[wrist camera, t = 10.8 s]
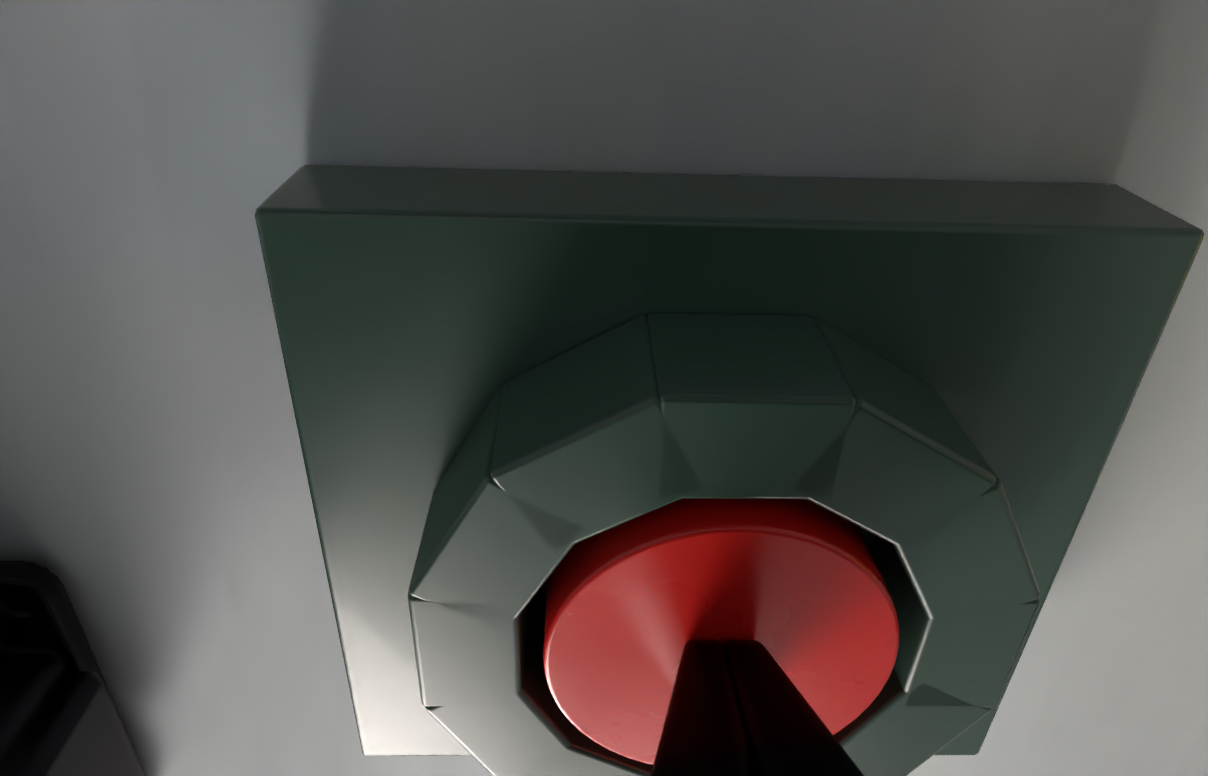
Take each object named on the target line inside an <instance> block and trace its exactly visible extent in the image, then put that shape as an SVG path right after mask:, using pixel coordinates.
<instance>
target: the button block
mask: <svg viewBox="0 0 1208 776" xmlns="http://www.w3.org/2000/svg"><path fill="white" fill-rule="evenodd" d="M255 218H256V223H257V228H258V233H259V238H260V243H261V248H262V253H263V258H264V263H265V268H266V273H267V278H268V283H269V288H270V293H271V298H272V303H273V308H274V313H275V318H276V323H277V328H278V333H279V338H280V343H281V348H282V353H283V358H284V363H285V368H286V373H287V378H288V383H289V388H290V393H291V398H292V403H293V408H294V413H295V418H296V423H297V428H298V433H299V438H300V443H301V448H302V453H303V458H304V463H305V468H306V473H307V478H308V483H309V488H310V493H311V498H312V503H313V508H314V513H315V518H316V523H317V528H318V533H319V538H320V543H321V548H322V553H323V558H324V563H325V568H326V573H327V578H328V583H329V588H330V593H331V598H332V602H333V607H334V612H335V617H336V622H337V627H338V632H339V637H340V642H341V647H342V652H343V657H344V662H345V667H346V672H347V677H348V682H349V687H350V692H351V697H352V702H353V707H354V712H355V717H356V722H357V727H358V732H359V737H360V742H361V747H362V752H363V754H364V755H366V756H473V757H474V758H475V759H476V760H477V761H478V762H479V763H480V764H481V765H482V766H483V767H484V768H485V769H486V770H488V771H489V772H490V773H491V774H492V775H493V776H651V772H652V768H653V765H652V764H647V763H643V762H640V761H637V760H633V759H630V758H627V757H624V756H622V755H620V754H617V753H615V752H613V751H610V750H608V749H607V748H605V747H603V746H601V745H599V744H598V743H596V742H594V741H593V740H591V739H590V738H589V737H587V736H586V735H584V734H583V733H582V732H580V731H579V730H578V729H577V728H576V727H575V726H574V725H573V724H572V723H571V722H570V721H569V720H568V719H567V718H566V716H565V715H564V714H563V712H562V711H561V710H560V708H559V707H558V705H557V704H556V702H555V700H554V698H553V696H552V694H551V692H550V690H549V687H548V684H547V680H546V677H545V673H544V664H543V649H544V630H545V611H546V592H547V579H548V578H549V576H550V575H551V574H552V572H553V571H554V570H555V569H556V567H557V566H558V565H559V563H560V562H561V561H562V560H563V558H564V557H565V556H566V555H567V553H568V552H569V551H570V549H571V548H572V547H573V546H574V544H576V543H578V542H580V541H583V540H585V539H588V538H590V537H592V536H595V535H597V534H599V533H602V532H604V531H606V530H609V529H611V528H613V527H616V526H618V525H620V524H623V523H625V522H628V521H630V520H632V519H635V518H637V517H639V516H642V515H644V514H646V513H649V512H651V511H653V510H656V509H658V508H660V507H663V506H665V505H668V504H670V503H672V502H675V501H677V500H679V499H682V498H713V499H807V500H809V501H810V502H812V503H814V504H816V505H818V506H820V507H822V508H824V509H826V510H828V511H830V512H832V513H834V514H836V515H838V516H840V517H842V518H843V519H845V520H847V521H849V522H851V523H853V524H855V525H857V526H859V527H861V530H862V532H863V534H864V536H865V539H866V541H867V543H868V546H869V548H870V550H871V552H872V555H873V557H874V559H875V561H876V564H877V566H878V568H879V570H880V573H881V575H882V577H883V579H884V582H885V584H886V586H887V588H888V591H889V593H890V595H891V598H892V600H893V603H894V606H895V608H896V611H897V616H898V622H899V648H898V652H897V657H896V661H895V665H894V667H893V669H892V672H891V674H890V677H889V679H888V680H887V682H886V684H885V685H884V687H883V689H882V690H881V692H880V693H879V695H878V696H877V697H876V698H875V700H874V701H873V702H872V703H871V704H870V706H869V707H868V708H867V709H866V710H865V711H864V712H862V713H861V714H860V715H859V716H858V717H857V718H856V719H855V720H854V721H852V722H851V723H850V724H848V725H847V726H846V727H844V728H843V729H842V730H840V731H839V732H837V733H836V734H834V735H833V736H834V737H835V738H836V740H837V741H838V742H839V743H840V745H841V746H842V747H843V749H844V750H845V751H846V753H847V754H848V755H849V756H850V758H851V759H852V760H853V762H854V763H855V764H856V765H857V767H858V768H859V769H860V771H861V772H862V773H863V775H864V776H907V775H908V774H909V773H910V772H912V771H913V770H914V769H916V768H917V767H918V766H920V765H921V764H922V763H924V762H925V761H926V760H927V759H929V758H930V757H931V756H933V755H975V754H977V753H979V750H980V748H981V746H982V744H983V741H984V739H985V737H986V734H987V732H988V730H989V728H990V725H991V723H992V721H993V718H994V716H995V714H996V711H997V709H998V707H999V705H1000V702H1001V700H1002V698H1003V695H1004V693H1005V691H1006V689H1007V686H1008V684H1009V682H1010V679H1011V677H1012V675H1013V673H1014V670H1015V668H1016V666H1017V663H1018V661H1019V659H1020V657H1021V654H1022V652H1023V650H1024V647H1025V645H1026V643H1027V641H1028V638H1029V636H1030V634H1031V631H1032V629H1033V627H1034V624H1035V622H1036V620H1037V618H1038V615H1039V613H1040V611H1041V608H1042V606H1043V604H1044V602H1045V599H1046V597H1047V595H1048V592H1049V590H1050V588H1051V586H1052V583H1053V581H1054V579H1055V576H1056V574H1057V572H1058V570H1059V567H1060V565H1061V563H1062V560H1063V558H1064V556H1065V554H1066V551H1067V549H1068V547H1069V544H1070V542H1071V540H1072V538H1073V535H1074V533H1075V531H1076V528H1077V526H1078V524H1079V521H1080V519H1081V517H1082V515H1083V512H1084V510H1085V508H1086V505H1087V503H1088V501H1089V499H1090V496H1091V494H1092V492H1093V489H1094V487H1095V485H1096V483H1097V480H1098V478H1099V476H1100V473H1101V471H1102V469H1103V467H1104V464H1105V462H1106V460H1107V457H1108V455H1109V453H1110V451H1111V448H1112V446H1113V444H1114V441H1115V439H1116V437H1117V435H1118V432H1119V430H1120V428H1121V425H1122V423H1123V421H1124V418H1125V416H1126V414H1127V412H1128V409H1129V407H1130V405H1131V402H1132V400H1133V398H1134V396H1135V393H1136V391H1137V389H1138V386H1139V384H1140V382H1141V380H1142V377H1143V375H1144V373H1145V370H1146V368H1147V366H1148V364H1149V361H1150V359H1151V357H1152V354H1153V352H1154V350H1155V348H1156V345H1157V343H1158V341H1159V338H1160V336H1161V334H1162V331H1163V329H1164V327H1165V325H1166V322H1167V320H1168V318H1169V315H1170V313H1171V311H1172V309H1173V306H1174V304H1175V302H1176V299H1177V297H1178V295H1179V293H1180V290H1181V288H1182V286H1183V283H1184V281H1185V279H1186V277H1187V274H1188V272H1189V270H1190V267H1191V265H1192V263H1193V261H1194V258H1195V256H1196V254H1197V251H1198V249H1199V247H1200V245H1201V242H1202V240H1203V236H1204V233H1203V231H1202V230H1201V229H1199V228H1197V227H1195V226H1193V225H1191V224H1190V223H1188V222H1186V221H1184V220H1182V219H1180V218H1178V217H1176V216H1174V215H1173V214H1171V213H1169V212H1167V211H1165V210H1163V209H1161V208H1159V207H1158V206H1156V205H1154V204H1152V203H1150V202H1148V201H1146V200H1144V199H1142V198H1141V197H1139V196H1137V195H1135V194H1133V193H1131V192H1129V191H1127V190H1125V189H1124V188H1122V187H1120V186H1118V185H1112V184H1070V183H1029V182H987V181H946V180H904V179H863V178H822V177H780V176H739V175H697V174H656V173H614V172H573V171H531V170H490V169H448V168H407V167H366V166H324V165H305V166H302V167H300V168H299V169H298V170H297V171H296V172H295V173H294V174H293V175H292V176H291V177H290V178H289V179H288V180H287V181H286V182H285V183H283V184H282V185H281V186H280V187H279V188H278V189H277V190H276V191H275V192H274V193H273V194H272V195H271V196H270V197H269V198H268V199H266V200H265V201H264V202H263V203H262V204H261V205H260V206H259V207H258V208H257V209H256V212H255Z"/></svg>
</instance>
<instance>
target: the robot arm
mask: <svg viewBox="0 0 1208 776" xmlns="http://www.w3.org/2000/svg"><path fill="white" fill-rule="evenodd" d="M0 776H146V774H145V771H144V769H143V767H142V765H141V762H140V760H139V758H138V755H137V753H136V751H135V748H134V746H133V744H132V742H131V739H130V737H129V735H128V732H127V730H126V728H125V725H124V723H123V721H122V719H121V716H120V714H119V712H118V709H117V707H116V705H115V702H114V700H113V698H112V696H111V693H110V691H109V689H108V686H107V684H106V682H105V679H104V677H103V675H102V673H101V670H100V668H99V666H98V663H97V661H96V659H95V656H94V654H93V652H92V650H91V647H90V645H89V643H88V640H87V638H86V636H85V633H84V631H83V629H82V626H81V624H80V622H79V620H78V617H77V615H76V613H75V610H74V608H73V606H72V603H71V601H70V599H69V597H68V594H67V592H66V590H65V587H64V585H63V584H62V582H61V581H60V579H59V578H58V577H57V576H56V575H55V574H54V573H52V572H51V571H50V570H48V569H47V568H45V567H42V566H40V565H37V564H35V563H30V562H23V561H0ZM651 776H864V775H863V773H862V772H861V771H860V769H859V768H858V767H857V765H856V764H855V763H854V762H853V760H852V759H851V758H850V756H849V755H848V754H847V753H846V751H845V750H844V749H843V747H842V746H841V745H840V743H839V742H838V741H837V740H836V738H835V737H834V736H833V734H832V733H831V732H830V730H829V729H828V728H827V727H826V725H825V724H824V723H823V721H822V720H821V719H820V718H819V716H818V715H817V714H816V712H815V711H814V710H813V708H812V707H811V706H810V705H809V703H808V702H807V701H806V699H805V698H804V697H803V696H802V694H801V693H800V692H799V690H798V689H797V688H796V686H795V685H794V684H793V683H792V681H791V680H790V679H789V677H788V676H787V675H786V673H785V672H784V671H783V670H782V668H781V667H780V666H779V664H778V663H777V662H776V661H775V659H774V658H773V657H772V655H771V654H770V653H769V651H768V650H767V649H766V648H765V646H764V645H763V644H762V643H760V642H759V641H757V640H727V641H725V642H724V643H723V645H722V643H721V642H720V641H718V640H688V641H687V642H686V643H685V645H684V648H683V652H682V656H681V660H680V663H679V667H678V671H677V675H676V679H675V683H674V687H673V691H672V694H671V698H670V702H669V706H668V710H667V714H666V718H665V722H664V725H663V729H662V733H661V737H660V741H659V745H658V749H657V753H656V756H655V760H654V764H653V768H652V772H651Z"/></svg>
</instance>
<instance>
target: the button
mask: <svg viewBox="0 0 1208 776" xmlns="http://www.w3.org/2000/svg"><path fill="white" fill-rule="evenodd" d="M688 640H718V641H720V642H721V643H722V645H723V643H724V642H725V641H727V640H757V641H759V642H760V643H762V644H763V645H764V646H765V648H766V649H767V650H768V651H769V653H770V654H771V655H772V657H773V658H774V659H775V661H776V662H777V663H778V664H779V666H780V667H781V668H782V670H783V671H784V672H785V673H786V675H787V676H788V677H789V679H790V680H791V681H792V683H793V684H794V685H795V686H796V688H797V689H798V690H799V692H800V693H801V694H802V696H803V697H804V698H805V699H806V701H807V702H808V703H809V705H810V706H811V707H812V708H813V710H814V711H815V712H816V714H817V715H818V716H819V718H820V719H821V720H822V721H823V723H824V724H825V725H826V727H827V728H828V729H829V730H830V732H831V733H832V734H833V735H834V734H836V733H837V732H839V731H840V730H842V729H843V728H844V727H846V726H847V725H848V724H850V723H851V722H852V721H854V720H855V719H856V718H857V717H858V716H859V715H860V714H861V713H862V712H864V711H865V710H866V709H867V708H868V707H869V706H870V704H871V703H872V702H873V701H874V700H875V698H876V697H877V696H878V695H879V693H880V692H881V690H882V689H883V687H884V685H885V684H886V682H887V680H888V679H889V677H890V674H891V672H892V669H893V667H894V665H895V661H896V657H897V652H898V648H899V622H898V616H897V611H896V608H895V606H894V603H893V600H892V598H891V595H890V593H889V591H888V588H887V586H886V584H885V582H884V579H883V577H882V575H881V573H880V570H879V568H878V566H877V564H876V561H875V559H874V557H873V555H872V552H871V550H870V548H869V546H868V543H867V541H866V539H865V536H864V534H863V532H862V530H861V527H859V526H857V525H855V524H853V523H851V522H849V521H847V520H845V519H843V518H842V517H840V516H838V515H836V514H834V513H832V512H830V511H828V510H826V509H824V508H822V507H820V506H818V505H816V504H814V503H812V502H810V501H809V500H807V499H713V498H682V499H679V500H677V501H675V502H672V503H670V504H668V505H665V506H663V507H660V508H658V509H656V510H653V511H651V512H649V513H646V514H644V515H642V516H639V517H637V518H635V519H632V520H630V521H628V522H625V523H623V524H620V525H618V526H616V527H613V528H611V529H609V530H606V531H604V532H602V533H599V534H597V535H595V536H592V537H590V538H588V539H585V540H583V541H580V542H578V543H576V544H574V546H573V547H572V548H571V549H570V551H569V552H568V553H567V555H566V556H565V557H564V558H563V560H562V561H561V562H560V563H559V565H558V566H557V567H556V569H555V570H554V571H553V572H552V574H551V575H550V576H549V578H548V579H547V592H546V611H545V630H544V649H543V664H544V673H545V677H546V680H547V684H548V687H549V690H550V692H551V694H552V696H553V698H554V700H555V702H556V704H557V705H558V707H559V708H560V710H561V711H562V712H563V714H564V715H565V716H566V718H567V719H568V720H569V721H570V722H571V723H572V724H573V725H574V726H575V727H576V728H577V729H578V730H579V731H580V732H582V733H583V734H584V735H586V736H587V737H589V738H590V739H591V740H593V741H594V742H596V743H598V744H599V745H601V746H603V747H605V748H607V749H608V750H610V751H613V752H615V753H617V754H620V755H622V756H624V757H627V758H630V759H633V760H637V761H640V762H643V763H647V764H652V765H653V764H654V760H655V756H656V753H657V749H658V745H659V741H660V737H661V733H662V729H663V725H664V722H665V718H666V714H667V710H668V706H669V702H670V698H671V694H672V691H673V687H674V683H675V679H676V675H677V671H678V667H679V663H680V660H681V656H682V652H683V648H684V645H685V643H686V642H687V641H688Z"/></svg>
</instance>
